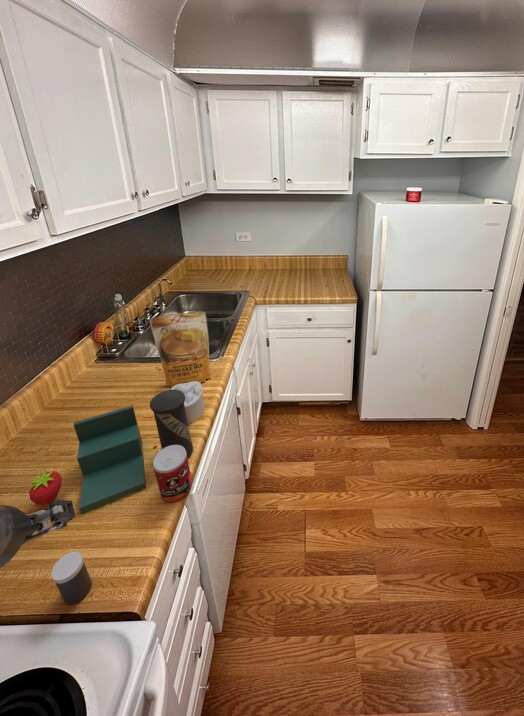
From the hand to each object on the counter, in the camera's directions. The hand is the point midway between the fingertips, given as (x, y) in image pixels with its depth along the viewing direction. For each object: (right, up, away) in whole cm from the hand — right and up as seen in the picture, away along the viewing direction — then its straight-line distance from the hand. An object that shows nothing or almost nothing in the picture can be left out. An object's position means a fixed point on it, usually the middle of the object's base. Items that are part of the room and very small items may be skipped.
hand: (31, 537), depth 52 cm
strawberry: (-20, -13, +30) cm, 39 cm away
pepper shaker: (-2, -20, +13) cm, 24 cm away
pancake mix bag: (-4, +5, +75) cm, 76 cm away
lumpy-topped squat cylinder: (+2, -1, +60) cm, 60 cm away
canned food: (+9, -12, +33) cm, 36 cm away
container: (+5, -8, +44) cm, 45 cm away
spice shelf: (-9, -10, +37) cm, 40 cm away
